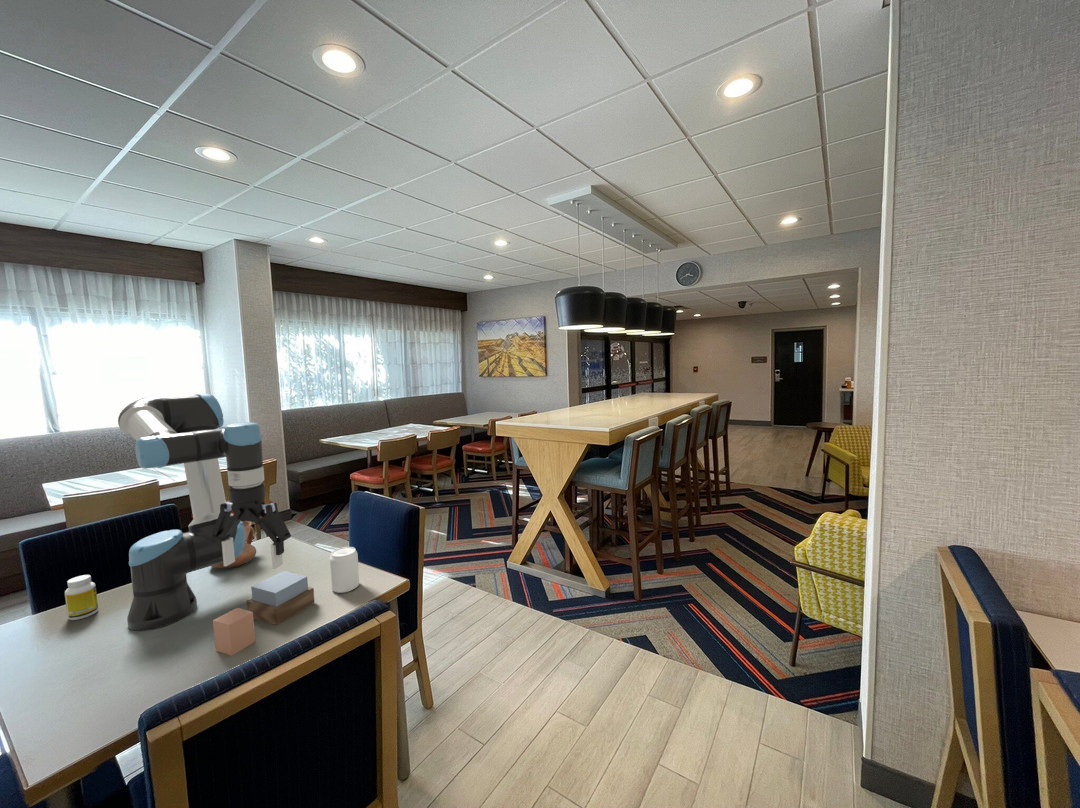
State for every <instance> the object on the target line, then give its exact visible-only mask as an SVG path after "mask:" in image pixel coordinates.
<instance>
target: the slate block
mask: <svg viewBox="0 0 1080 808" xmlns="http://www.w3.org/2000/svg"><path fill="white" fill-rule="evenodd" d="M308 587H309V583H308V576H306V575H303V574H299V573H295V572H290V571H286V570H282V571H280V572H279V573H277V574H274V575H272V576H270V577H268V578H266V579H263V580H262V581H260V582H258V583H256V584H254V585H252V586H250V588H251V598H252V600H255V601H258V602H261V603H265V604H268V605H272V606H275V607H277V606H279V605H281V604H283V603H284V602H286V601H288V600H290V599H292V598H293V597H295V596H297V595H299V594H301V593H302V592H304V591H306V590H308Z"/></svg>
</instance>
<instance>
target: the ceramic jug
mask: <svg viewBox="0 0 1080 808" xmlns="http://www.w3.org/2000/svg"><path fill="white" fill-rule="evenodd" d="M242 522H243V526H244V529H245V545H244V549H243V552H242V553H241V555H240V556H238V557H237V558H235V562H233V563H231V564H230V565H228V566H224V563H223V562H222V563H219V564H216V565H213V566H210V567H211V568H214V569H219V570H220V569H232V568H235V567H239V566H242V565H245V564H246V563H248V562H250V561H251V560H252V559H253V558H254V557H255V556H256V555H257V549H256V547H255V546H254V545H252V542H253V539H254V535H255V530H254V529H255V528H253V527H252V522H249V521H242Z"/></svg>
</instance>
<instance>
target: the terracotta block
mask: <svg viewBox="0 0 1080 808" xmlns="http://www.w3.org/2000/svg"><path fill="white" fill-rule="evenodd" d="M212 625H213V634H214V635H213V636H214V645H215V646H214V647H215V651H216V652H219V653H222V654H225V655H228V656H230V657H231V656H234V655H236V654H238V652H241V651H242V650H244V649H245V648H247V647H248V646H250V645H252V644H253V643H255V642H256V634H255V631H256V630H255V623H254V618H253V612H251V611H247V609H243V608H241V607H235V608H234V609H232V610H230V611H228V612H226V613H224V614H222V615H220V616H219V617H217V618H215V619H213V620H212Z"/></svg>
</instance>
